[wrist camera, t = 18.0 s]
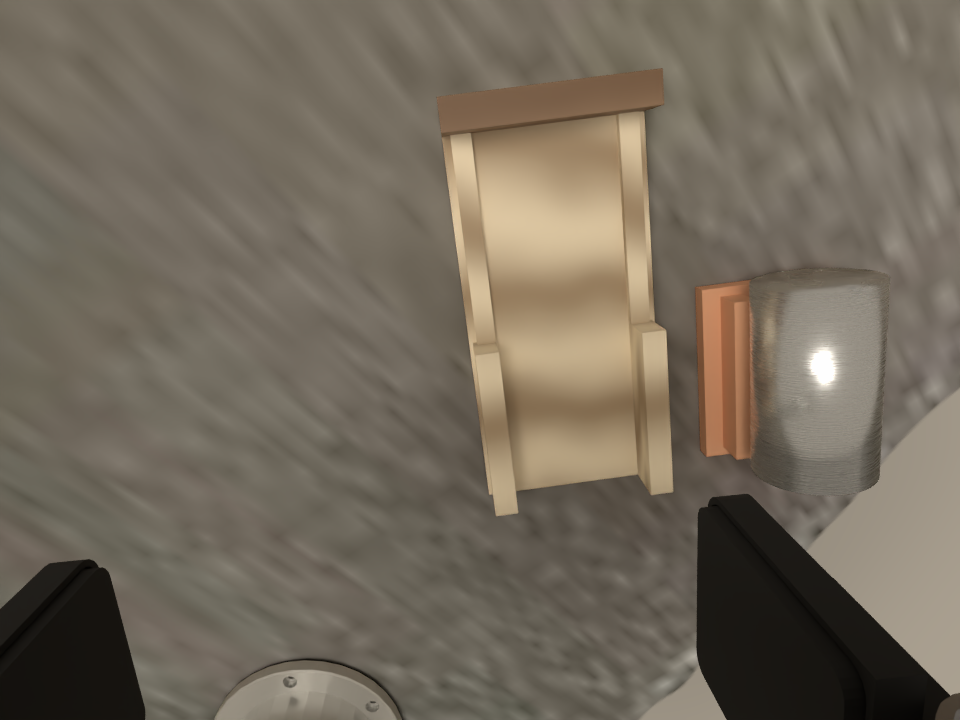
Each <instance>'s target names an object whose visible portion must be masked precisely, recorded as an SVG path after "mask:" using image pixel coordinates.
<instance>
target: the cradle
mask: <svg viewBox="0 0 960 720" xmlns="http://www.w3.org/2000/svg"><path fill="white" fill-rule="evenodd" d="M750 281H751V280H746V281H738V282H730V283H723V284H715V285H708V286H700V287H695V294H696V326H697V358H698V391H699V423H700V450H701V451H702V452H703V453H704V454H705V456H706V457H710V456H717V455H724V454H731V455H732V456H733V457H734V458H735V459H736V460H738V459H746V458H751V450H750V313H749V282H750Z"/></svg>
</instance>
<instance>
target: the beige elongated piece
mask: <svg viewBox="0 0 960 720" xmlns="http://www.w3.org/2000/svg"><path fill="white" fill-rule="evenodd" d="M437 104H438V112H439V119H440V127H441V135H442V142H443V150H444V157H445V165H446V172H447V180H448V187H449V195H450V202H451V210H452V217H453V225H454V233H455V240H456V248H457V255H458V263H459V270H460V278H461V285H462V293H463V300H464V308H465V315H466V323H467V331H468V338H469V346H470V353H471V361H472V368H473V376H474V383H475V391H476V398H477V406H478V413H479V421H480V429H481V436H482V444H483V451H484V459H485V466H486V474H487V481H488V489H489V495H491V494H493V499H494V506H495V512H496V516H502V515H509V514H517V513H518V507H517V498H516V491H520V490H527V489H535V488H542V487H549V486H557V485H564V484H571V483H579V482H586V481H593V480H601V479H608V478H615V477H623V476H630V475H637V474H638V475H639V477H640V478H641V480H642V482H643V483H644V485H645V486H646V488H647V489H648V491H649V492H650V494H651V495H656V494H663V493H670V492H673V475H672V452H671V430H670V407H669V384H668V362H667V339H666V330H665V329H664V328H662V327H661V326H659V325H658V324H657V323H655V320H654V299H653V279H652V259H651V238H650V218H649V198H648V178H647V157H646V137H645V117H644V111H646V110H649V109H652V108H655V107H658V106H661V105H664V90H663V68H661V69H653V70H645V71H637V72H629V73H621V74H613V75H606V76H598V77H590V78H582V79H574V80H566V81H558V82H550V83H542V84H535V85H527V86H519V87H511V88H503V89H495V90H487V91H479V92H472V93H464V94H456V95H448V96H440V97H437Z"/></svg>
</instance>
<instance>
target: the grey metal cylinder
mask: <svg viewBox="0 0 960 720" xmlns="http://www.w3.org/2000/svg"><path fill="white" fill-rule="evenodd" d="M889 293H890V276H888V275H887V274H885V273H881V272H877V271H872V270H864V269H852V268H813V269H799V270H789V271H781V272H775V273H770V274H766V275H762V276H759V277H756V278H754V279H752V280H751V281H750V282H749V313H750V450H751V469H752V471H753V472H754V473H755V475H756V476H758V477H759V478H760V479H762V480H763V481H765V482H766V483H768V484H770V485H773V486H775V487H778V488H781V489H784V490H787V491H791V492H796V493H800V494H807V495H817V496H839V495H848V494H854V493H858V492H861V491H864V490H867V489H869V488H871V487H872V486H874V485H875V484H876V483H877V482H878V480H879V476H880V460H881V441H882V423H883V404H884V386H885V367H886V349H887V330H888V312H889Z"/></svg>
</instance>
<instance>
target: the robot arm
mask: <svg viewBox="0 0 960 720" xmlns="http://www.w3.org/2000/svg"><path fill="white" fill-rule="evenodd" d="M697 657H698V662H699V666H700V669H701V672H702V674H703V676H704V678H705V680H706V682H707V683H708V685H709V687H710V689H711V691H712V693H713V695H714V697H715V699H716V701H717V702H718V704H719V706H720V708H721V710H722V712H723V714H724V716H725V718H726V719H727V720H960V693H958V694H953V695H951V696H950V695H949V694H948V693H947V692H946V691H945V690H944V689H943V688H942V687H941V686H940V685H939V684H938V683H937V682H936V681H935V680H934V679H933V678H932V677H931V676H930V675H929V674H928V673H927V672H926V671H925V670H924V669H923V668H922V667H921V666H920V665H919V664H918V663H917V662H916V661H915V660H914V659H913V658H912V657H911V656H910V655H909V654H908V653H907V652H906V651H905V650H904V649H903V648H902V647H901V646H900V645H899V643H898V642H896V641H895V640H894V639H893V638H892V636H891V635H890V634H888V632H887V631H885V629H884V628H883V627H881V625H879V623H878V622H877V621H876V620H875V619H874V618H873V617H872V616H871V615H870V614H868V612H867V611H866V610H865V609H864V608H863V607H862V606H861V605H860V604H859V603H858V602H857V601H855V599H854V598H853V597H852V596H851V595H850V594H849V593H848V592H847V591H846V590H845V589H844V588H843V587H842V586H841V585H840V584H839V583H838V582H837V581H836V580H835V579H834V578H832V577H831V576H830V575H829V574H828V573H827V572H826V571H825V570H824V569H823V568H822V567H821V566H820V565H819V564H818V563H817V562H816V561H815V560H814V559H813V558H812V557H811V556H810V555H809V554H808V553H807V552H806V551H805V550H804V549H803V548H802V547H801V546H800V545H799V544H798V543H797V542H796V541H795V540H794V539H793V538H792V537H791V536H790V535H789V534H788V533H787V532H786V531H785V530H784V529H783V528H782V527H781V526H780V525H779V524H778V523H777V522H776V521H775V520H774V519H773V518H772V517H771V516H770V515H769V514H768V513H767V512H766V511H765V510H764V509H763V507H762V506H761V505H760V504H759V503H758V502H757V501H756V500H755V499H754V498H753V497H751V496H750V495H749V494H741V495H731V496H721V497H712V498H711V499H710V501H709V504H708V507H703V508H700V509H699V513H698V558H697ZM0 720H145V707H144V703H143V699H142V695H141V691H140V688H139V684H138V680H137V676H136V672H135V669H134V665H133V661H132V657H131V653H130V650H129V646H128V642H127V638H126V635H125V631H124V627H123V623H122V619H121V616H120V612H119V608H118V604H117V600H116V597H115V593H114V589H113V585H112V581H111V578H110V575H109V572H108V571H107V570H106V569H105V568H99V567H98V565H97V564H96V563H95V561H93V560H90V559H88V560H78V561H67V562H57V563H50V564H48V565H47V566H45V567H44V568H43V569H42V570H41V571H40V572H39V573H38V574H37V575H36V576H35V577H34V578H32V579H31V580H30V581H29V582H28V583H27V584H26V585H25V586H24V587H23V588H22V589H21V590H20V591H19V592H18V593H17V594H16V595H15V596H14V597H13V598H12V599H11V600H9V601H8V602H7V603H6V604H5V605H4V606H3V607H2V608H1V609H0ZM214 720H402V718H401V716H400V714H399V711H398V709H397V707H396V705H395V704H394V702H393V701H392V700H391V698H390V697H389V696H388V694H387V693H386V692H385V691H384V690H383V689H382V688H381V687H380V686H378V685H377V684H376V683H375V682H374V681H372V680H371V679H369V678H368V677H366V676H364V675H363V674H361V673H359V672H357V671H355V670H352V669H350V668H347V667H345V666H342V665H338V664H333V663H328V662H324V661H308V660H303V661H293V662H285V663H281V664H277V665H274V666H270V667H267V668H265V669H263V670H260V671H258V672H256V673H254V674H252V675H250V676H249V677H247V678H246V679H245V680H243V681H242V682H240V683H239V684H238V685H237V686H236V687H235V688H234V689H233V690H232V691H231V692H230V693H229V694H228V695H227V696H226V698H225V700H224V701H223V703H222V705H221V706H220V708H219V710H218V712H217V714H216V717H215V719H214Z"/></svg>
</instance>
